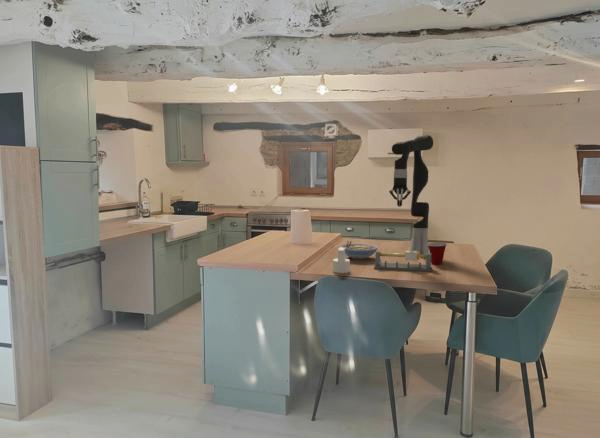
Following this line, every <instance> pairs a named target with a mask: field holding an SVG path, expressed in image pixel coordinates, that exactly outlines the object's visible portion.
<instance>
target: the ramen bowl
mask: <svg viewBox="0 0 600 438" xmlns="http://www.w3.org/2000/svg"><path fill="white" fill-rule="evenodd" d="M346 242H347V243H344V244H341V245H339V247H344V248H345V256H346V257H347V256H348V257H349V258H352V259H354V260H365V259H367V258H370V257H372V256H373V255H374V254H376V251H378V249H379V247H378V245H376V244H371V243H359V242H358V243H352V241H350V242H349V241H346Z"/></svg>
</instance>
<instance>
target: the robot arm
mask: <svg viewBox="0 0 600 438" xmlns="http://www.w3.org/2000/svg"><path fill="white" fill-rule="evenodd" d="M433 146H434V138H433V137H432V136H431V135H428V134H425V135H418V136H415V137H414V139H411V140H406V141H399V142H397V141H396V142H395V143H393V144H392V146H391V151H392V153H393V155H396V156H397V155H398V156H399V155H401V157H400V158H396V159H394V171H393V187H392V188H391V189H390V190H389V191H388V192H389V194H390V195H391V197H393V199H394V200H396V206H397V207H398V208H401V207H402V206H403V200H406V199H407V198H408V196H409V195H411V193H412V195H411V207H410V214H411V216H412V217H415V218H417V217H419V218H422V219H420V220H418V221H415V222H413V223H412V239H413V244H412V251H417V252H419V255H426V253H430V252H429V247H428V245H427V244H428V243H430V240H429V239H428V237H429V236H428V235H429V214H430V204H429V203H428V202H426V201H423V202H422V201H418V199H419V196H420V195H421V193H422V191H423V190H424V189H425V187H426V186H427V184H428V183H429V169H428V167H427V165H426V164H425V162H424V160H423V158H422V152H423V151H429V150H431V149H432V148H433ZM411 153H413V172H412V173H413V174H412V191H411V190H410V189H408V186H407V185H408V159H409V156H410V154H411ZM405 193H406V194H405ZM395 194H396V196H395ZM404 194H405V195H404Z"/></svg>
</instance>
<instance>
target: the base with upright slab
mask: <svg viewBox="0 0 600 438" xmlns="http://www.w3.org/2000/svg"><path fill="white" fill-rule="evenodd" d="M350 260H351V259H348V258H346V254H345V248H344V247H340V246H339V247H338V249H337V258H333V259H332V272H333V273H337V274H347V273H350V272H351V261H350Z"/></svg>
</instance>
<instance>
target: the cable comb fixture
mask: <svg viewBox="0 0 600 438" xmlns="http://www.w3.org/2000/svg"><path fill="white" fill-rule="evenodd" d="M374 254H375V261H374V267H373V268H374V270H383V271H384V270H385V271H386V270H387V271H388V270H389V271H405V272H423V273H424V272H427V273H428V272H429V273H432V272H433V270H432V264H431V253H430V252H428V253H426V255H419V252H417V261H419V260H420V259H425V264H422V263H421V262H419V263H418V264H417V263H410V261H407V263H399V261H395V262H387V260H384V262H381V257H389V258H390V257H392V258H394V257H396V258H405V255H406V254H405V253H392V252H381V250H376V252H375V253H374Z"/></svg>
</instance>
